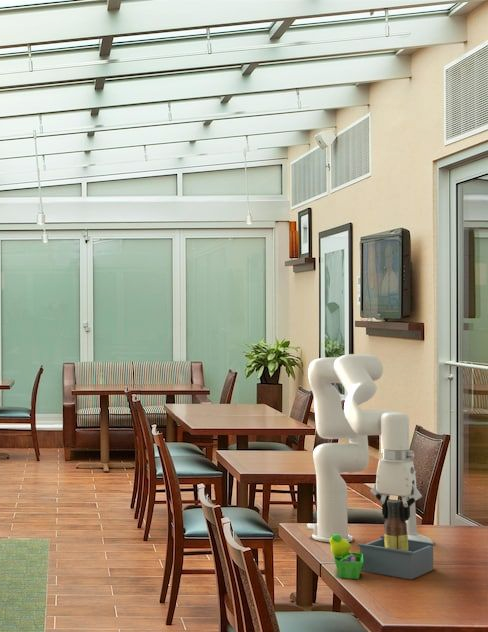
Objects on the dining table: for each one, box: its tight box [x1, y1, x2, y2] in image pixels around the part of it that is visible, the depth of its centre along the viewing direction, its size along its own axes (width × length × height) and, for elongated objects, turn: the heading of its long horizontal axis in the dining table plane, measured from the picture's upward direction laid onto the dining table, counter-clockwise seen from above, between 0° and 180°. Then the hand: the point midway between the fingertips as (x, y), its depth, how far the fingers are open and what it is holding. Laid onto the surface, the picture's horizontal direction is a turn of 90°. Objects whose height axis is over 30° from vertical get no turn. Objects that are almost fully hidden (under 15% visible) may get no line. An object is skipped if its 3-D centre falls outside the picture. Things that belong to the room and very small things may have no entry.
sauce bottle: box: [383, 499, 408, 551], centre depth 275 cm, size 6×6×20 cm
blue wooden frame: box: [357, 534, 436, 580], centre depth 275 cm, size 15×16×8 cm
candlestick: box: [405, 450, 434, 543], centre depth 312 cm, size 13×13×30 cm
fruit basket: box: [329, 534, 363, 580], centre depth 270 cm, size 11×9×11 cm
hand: (396, 518), depth 275 cm, fingers open, 4 cm apart
